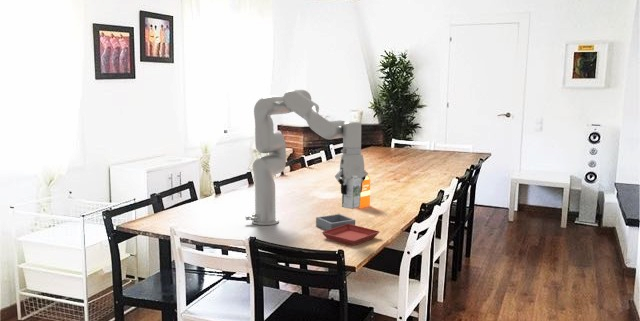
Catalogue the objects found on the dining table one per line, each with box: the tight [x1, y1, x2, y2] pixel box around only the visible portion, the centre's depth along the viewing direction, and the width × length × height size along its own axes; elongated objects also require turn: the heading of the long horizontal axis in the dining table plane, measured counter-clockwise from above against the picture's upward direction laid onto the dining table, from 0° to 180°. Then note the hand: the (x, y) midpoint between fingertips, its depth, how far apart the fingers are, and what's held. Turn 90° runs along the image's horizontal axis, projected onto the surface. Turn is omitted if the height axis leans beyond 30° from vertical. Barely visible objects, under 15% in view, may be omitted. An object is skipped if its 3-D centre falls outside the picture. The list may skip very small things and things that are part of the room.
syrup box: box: [341, 175, 361, 210], centre depth 229 cm, size 6×6×14 cm
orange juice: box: [358, 169, 371, 209], centre depth 291 cm, size 8×9×20 cm
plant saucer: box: [321, 224, 380, 246], centre depth 232 cm, size 18×18×3 cm
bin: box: [315, 213, 356, 231], centre depth 249 cm, size 13×13×4 cm
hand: (351, 192), depth 229 cm, fingers closed on syrup box, 7 cm apart
